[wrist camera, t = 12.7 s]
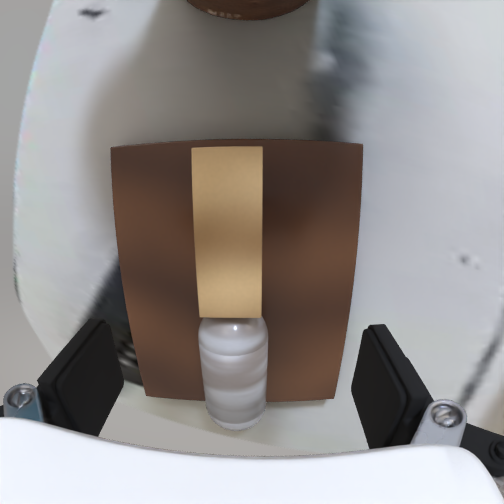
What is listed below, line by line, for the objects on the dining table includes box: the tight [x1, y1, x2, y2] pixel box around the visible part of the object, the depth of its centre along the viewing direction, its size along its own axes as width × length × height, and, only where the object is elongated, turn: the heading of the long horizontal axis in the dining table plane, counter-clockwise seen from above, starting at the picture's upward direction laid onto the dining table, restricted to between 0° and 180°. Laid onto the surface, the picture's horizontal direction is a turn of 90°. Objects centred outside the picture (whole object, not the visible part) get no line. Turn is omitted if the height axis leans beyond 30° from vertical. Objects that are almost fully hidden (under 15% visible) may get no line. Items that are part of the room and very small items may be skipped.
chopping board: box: [111, 139, 363, 402], centre depth 22 cm, size 20×16×2 cm
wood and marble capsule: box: [191, 146, 268, 431], centre depth 19 cm, size 20×4×4 cm, turn 0°
